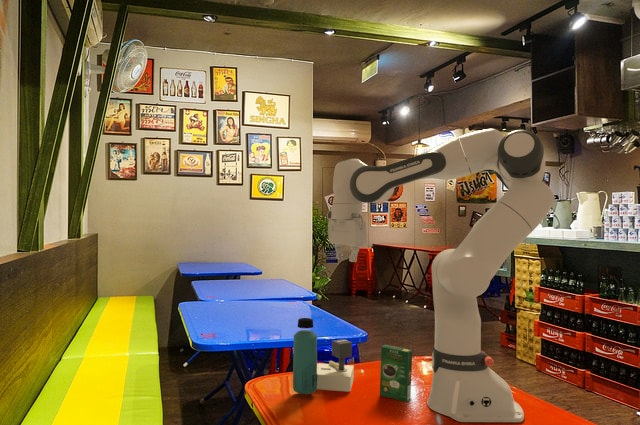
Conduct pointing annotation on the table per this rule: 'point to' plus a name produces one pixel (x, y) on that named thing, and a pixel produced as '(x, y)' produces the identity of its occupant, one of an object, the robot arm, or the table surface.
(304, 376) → the beverage bottle
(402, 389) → the coffee box
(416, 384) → the table surface
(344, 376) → the cream square baseplate
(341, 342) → the dark box with stem
